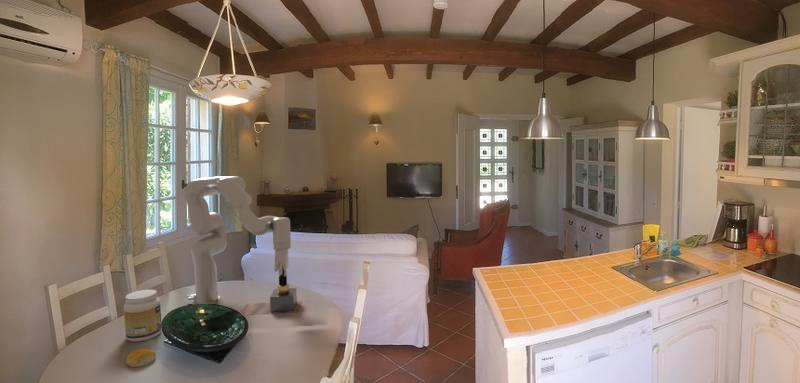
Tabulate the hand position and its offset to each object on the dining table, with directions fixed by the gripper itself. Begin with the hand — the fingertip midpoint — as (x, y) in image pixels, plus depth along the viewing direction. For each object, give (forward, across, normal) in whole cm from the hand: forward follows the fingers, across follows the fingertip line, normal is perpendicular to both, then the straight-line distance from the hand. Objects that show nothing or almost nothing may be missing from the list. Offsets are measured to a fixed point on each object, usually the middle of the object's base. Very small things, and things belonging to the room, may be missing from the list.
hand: (283, 284), depth 178 cm
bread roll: (+13, +38, -42) cm, 58 cm away
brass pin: (+10, 0, 0) cm, 10 cm away
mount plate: (+12, 0, -5) cm, 13 cm away
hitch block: (+11, 0, 0) cm, 11 cm away
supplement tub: (+13, +18, -51) cm, 55 cm away
